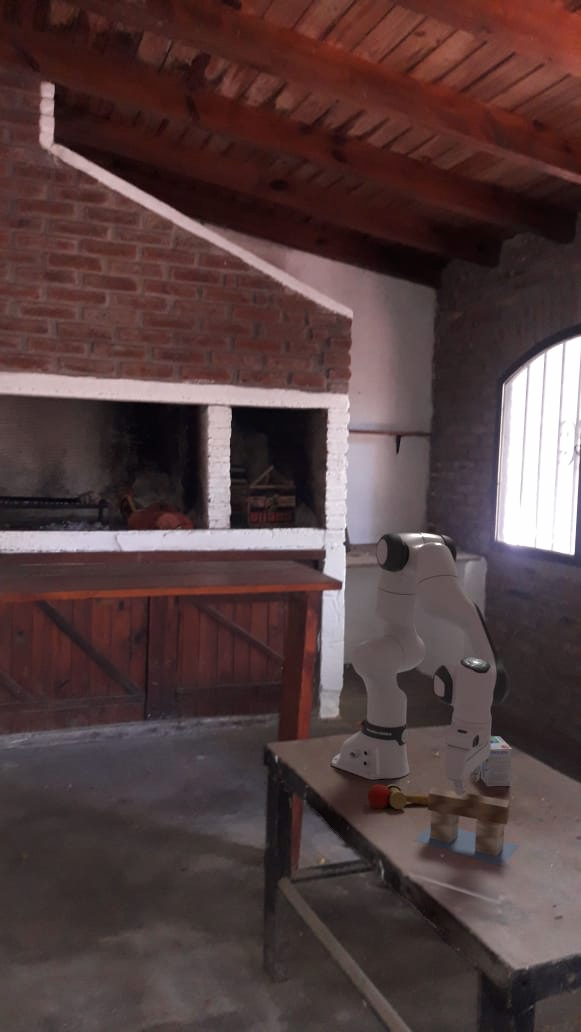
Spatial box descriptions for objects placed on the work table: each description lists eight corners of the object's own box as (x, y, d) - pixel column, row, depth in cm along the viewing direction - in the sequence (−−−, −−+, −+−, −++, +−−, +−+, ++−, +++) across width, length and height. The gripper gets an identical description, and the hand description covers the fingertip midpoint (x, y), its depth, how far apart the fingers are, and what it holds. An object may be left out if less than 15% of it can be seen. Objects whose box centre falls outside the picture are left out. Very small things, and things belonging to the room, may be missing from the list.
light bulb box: (475, 772, 240) (477, 735, 239) (498, 772, 241) (500, 735, 240) (487, 787, 230) (489, 748, 229) (511, 787, 230) (513, 748, 229)
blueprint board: (414, 842, 195) (414, 840, 195) (433, 824, 205) (434, 821, 205) (502, 868, 184) (502, 866, 184) (518, 847, 194) (518, 845, 194)
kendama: (428, 803, 221) (362, 796, 218) (433, 782, 219) (367, 775, 217) (436, 821, 213) (368, 814, 211) (442, 799, 212) (374, 792, 209)
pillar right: (474, 850, 191) (476, 821, 190) (482, 842, 195) (483, 813, 194) (496, 856, 188) (497, 826, 188) (503, 848, 192) (504, 818, 192)
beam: (427, 809, 195) (428, 793, 195) (431, 803, 199) (432, 787, 199) (506, 824, 189) (507, 807, 189) (508, 817, 193) (509, 800, 192)
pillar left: (430, 837, 197) (431, 808, 196) (438, 829, 201) (439, 801, 200) (450, 843, 194) (451, 814, 193) (457, 835, 198) (459, 806, 198)
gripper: (473, 715, 203) (470, 769, 204) (441, 738, 186) (437, 798, 187) (499, 720, 200) (495, 776, 201) (468, 745, 182) (464, 805, 184)
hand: (467, 787), depth 194 cm, fingers open, 8 cm apart
